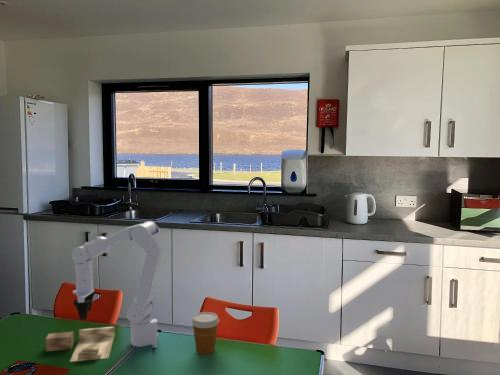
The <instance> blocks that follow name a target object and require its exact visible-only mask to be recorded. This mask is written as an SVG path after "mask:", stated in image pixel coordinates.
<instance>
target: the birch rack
mask: <svg viewBox="0 0 500 375" xmlns="http://www.w3.org/2000/svg"><path fill="white" fill-rule="evenodd" d="M78 335H79V336H78V337H79V338H78V339H79V340H78V342H77V344H76V346H75V348H74V350H73V353H72V355H71V357H70V359H69V363H72V362H73V363H74V362H82V361H85V360H78V353H79V351H82V349H83V348H87V347H97V346H99V353H100V352H101V358H98V359H97V360H100V359H109V357H110V354H111V350H112V346H113V343H114V339H115V326H105V327H103V326H102V327H93V328H81V329H79V330H78ZM91 360H93V361H95V359H88V360H87V361H91Z"/></svg>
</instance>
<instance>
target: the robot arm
mask: <svg viewBox="0 0 500 375" xmlns="http://www.w3.org/2000/svg"><path fill="white" fill-rule="evenodd" d="M125 240H127V241H130V242H131V241H133V242H134V243H135V244H136V245H138V246H139V247H140V248H142V249H143V250H144V252H145V253H146V254H145V256H144V257H145V258H144V262H143V266H142V271H141V274H140V279H139V283H138V286H137V290H136V291H137V292H136V294H135V297H134V298H133V300H132V303H131V306H130V307H129V308H128V309H127V311H126V312H127V313H126V317H127V320H128V321H129V322H130V345H131V346H133V347H138V348H141V347H145V346H152V349H154V348H155V349H156V348H158V340H159V333H158V319H157V318H152V313H153V312H154V309H155V305H154V299H155V297H154V296H153V292H154V287H155V284H156V280H157V276H158V272H159V266H160V263H161V259H162V255H163V251H164V247H163V241H162V239H161V229H160V227H159V226H158V224H156V223H155V222H153V220H147V221H144V222H143V223H142V222H141V223H138V224H135V225H131V226H128V227H126V228H124V229H121V230H120V231H118V232H116V233H114V234H112V235H111V236H108V237H105V236H100V235H99V236H96V237H94V239H93V240H92V241H90V242H88V241H86V242H84V243H83V245H81V246H76V248H74V249H73V250H72V251H71V259H72V261H73V262H74V268H75V290H73V291H72V294H73V295H74V294H75V295H76V297H77V299H74V300H73V305H74V306H75V308H76V310H77V313H78V316H79V320H80V321H81V320H87V318H88V315H89V314H88V313H89V312H91V310H92V304H93V300H94V297H95V296H94V295H95V294H96V290H95V289H94V279H93V278H94V274H93V272H94V271H93V270H94V269H93V262H94V258H97V257H98V256H101V255H102V254H105V253H107V252H109V251H110V249H111V246H114V245H115V244H118V243H120V242H122V241H125Z"/></svg>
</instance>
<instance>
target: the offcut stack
mask: <svg viewBox="0 0 500 375" xmlns="http://www.w3.org/2000/svg"><path fill="white" fill-rule="evenodd" d="M98 358H101V352H100V353H99V346H97V347H87V348H83V349H82V351H79V353H78V360H84V361H89V360H88V359H94V360H99V359H98Z"/></svg>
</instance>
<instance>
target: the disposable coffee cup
mask: <svg viewBox="0 0 500 375" xmlns="http://www.w3.org/2000/svg"><path fill="white" fill-rule="evenodd" d="M219 322H220V318H219V317H218V315H217V313H215V312H211V311H210V312H209V311H202V312H198V313H196V314H194V315H193V316H192V319H191V324H192V329H193V336H194V342H195V351H196V353H197V354H199V355H211V354H212V353H214V352H215V350H216V342H217V341H216V339H217V332H218V324H219Z"/></svg>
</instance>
